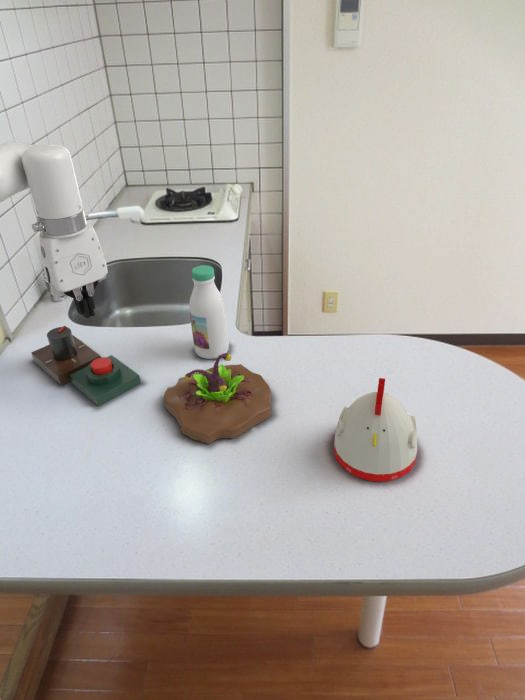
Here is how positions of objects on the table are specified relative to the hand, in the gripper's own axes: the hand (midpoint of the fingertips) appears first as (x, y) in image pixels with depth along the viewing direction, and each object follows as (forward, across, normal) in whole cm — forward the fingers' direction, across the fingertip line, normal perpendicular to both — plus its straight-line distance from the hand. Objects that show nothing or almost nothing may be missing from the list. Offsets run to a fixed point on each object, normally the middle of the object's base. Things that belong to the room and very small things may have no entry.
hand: (87, 314), depth 100 cm
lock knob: (+14, -2, +13) cm, 19 cm away
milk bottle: (+17, +23, -7) cm, 29 cm away
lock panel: (+17, -2, +13) cm, 21 cm away
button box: (+17, 0, 0) cm, 17 cm away
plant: (+17, +12, -23) cm, 31 cm away
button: (+13, 0, 0) cm, 13 cm away
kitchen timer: (+16, +22, -52) cm, 59 cm away
